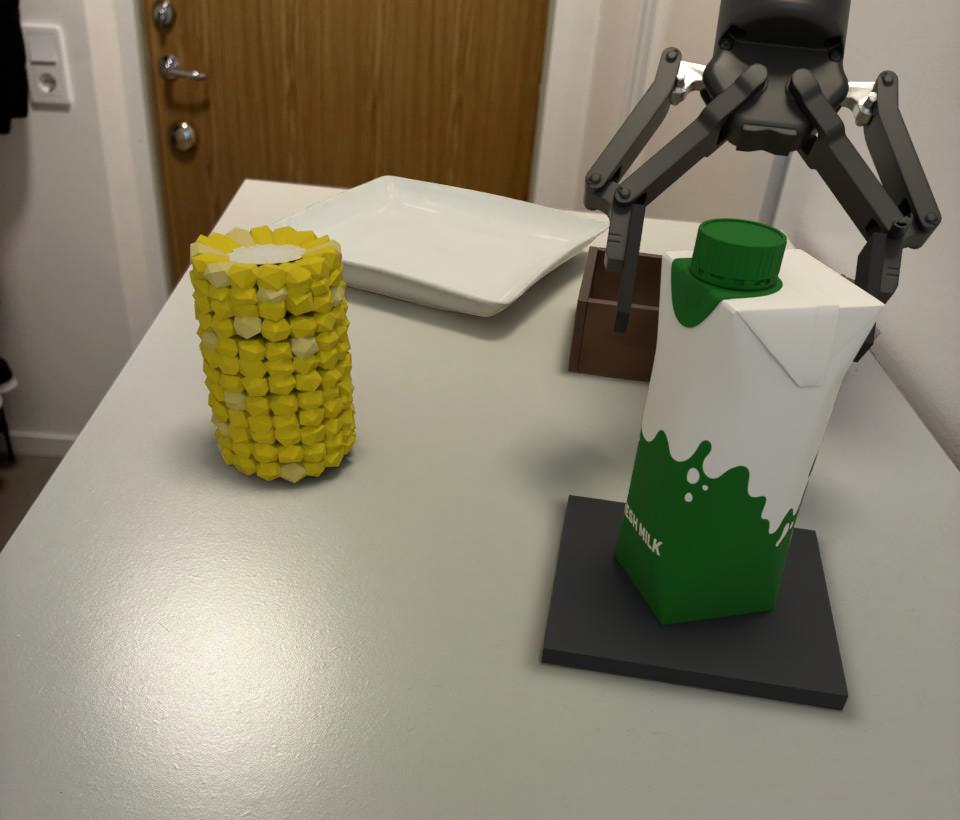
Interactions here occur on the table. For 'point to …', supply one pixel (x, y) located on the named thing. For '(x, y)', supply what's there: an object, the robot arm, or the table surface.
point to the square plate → (444, 242)
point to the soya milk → (734, 417)
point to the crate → (596, 318)
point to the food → (275, 349)
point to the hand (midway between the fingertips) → (739, 338)
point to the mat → (691, 622)
